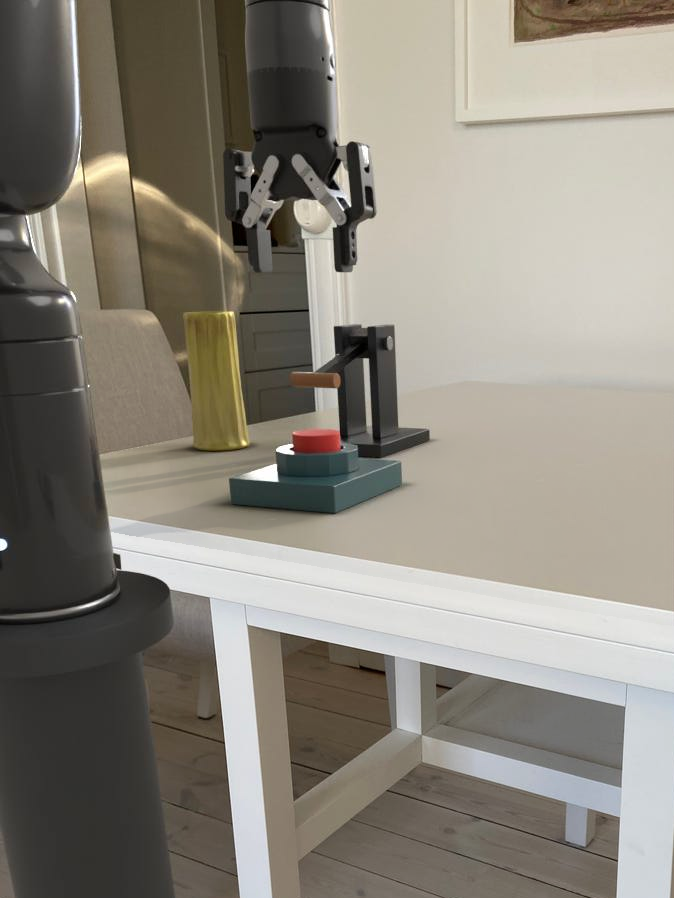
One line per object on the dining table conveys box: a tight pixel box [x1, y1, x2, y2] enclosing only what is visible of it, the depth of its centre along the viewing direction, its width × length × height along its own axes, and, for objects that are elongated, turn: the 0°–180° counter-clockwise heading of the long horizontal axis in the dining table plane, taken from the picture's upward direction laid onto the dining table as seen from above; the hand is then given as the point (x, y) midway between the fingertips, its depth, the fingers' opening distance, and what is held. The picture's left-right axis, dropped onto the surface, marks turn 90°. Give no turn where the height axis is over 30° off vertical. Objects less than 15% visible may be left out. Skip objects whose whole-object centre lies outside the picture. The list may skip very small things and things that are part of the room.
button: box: [291, 428, 341, 453], centre depth 85 cm, size 4×4×2 cm
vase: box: [182, 310, 251, 452], centre depth 108 cm, size 6×6×14 cm
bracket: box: [333, 323, 431, 459], centre depth 108 cm, size 12×9×13 cm
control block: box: [228, 442, 403, 514], centre depth 86 cm, size 12×10×4 cm
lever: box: [289, 327, 369, 389], centre depth 102 cm, size 13×5×2 cm, turn 158°
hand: (303, 272), depth 91 cm, fingers open, 8 cm apart
